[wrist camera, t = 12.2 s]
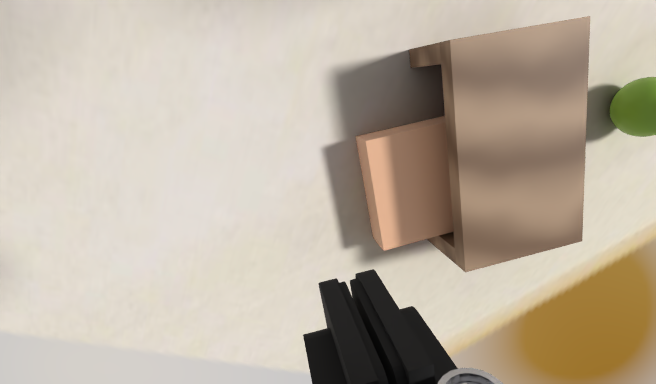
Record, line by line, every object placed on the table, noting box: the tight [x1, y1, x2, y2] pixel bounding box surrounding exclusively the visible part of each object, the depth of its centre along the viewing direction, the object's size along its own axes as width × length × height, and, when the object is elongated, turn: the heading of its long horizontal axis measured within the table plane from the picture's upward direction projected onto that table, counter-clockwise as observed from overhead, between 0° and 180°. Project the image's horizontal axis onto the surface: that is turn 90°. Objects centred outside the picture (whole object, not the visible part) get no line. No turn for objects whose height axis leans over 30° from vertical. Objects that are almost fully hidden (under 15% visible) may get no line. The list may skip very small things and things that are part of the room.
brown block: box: [409, 16, 590, 272], centre depth 33 cm, size 18×11×7 cm, turn 9°
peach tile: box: [356, 116, 454, 251], centre depth 35 cm, size 10×14×4 cm
